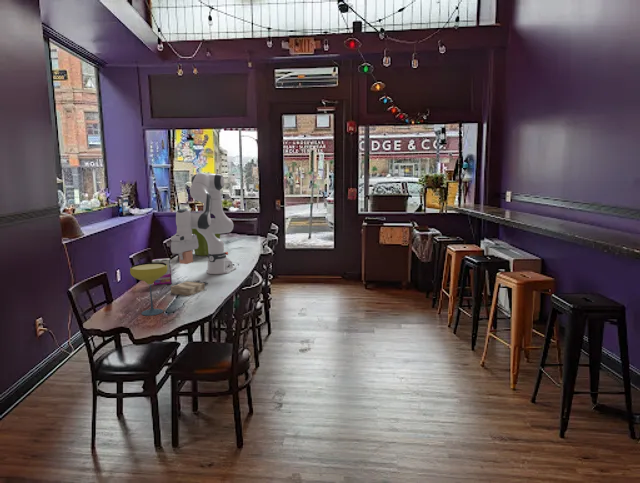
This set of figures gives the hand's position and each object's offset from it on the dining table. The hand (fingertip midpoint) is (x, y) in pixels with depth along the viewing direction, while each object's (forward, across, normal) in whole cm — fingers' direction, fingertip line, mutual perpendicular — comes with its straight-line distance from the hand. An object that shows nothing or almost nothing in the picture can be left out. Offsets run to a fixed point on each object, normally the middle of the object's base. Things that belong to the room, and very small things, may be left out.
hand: (186, 258), depth 272 cm
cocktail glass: (+21, +39, +10) cm, 45 cm away
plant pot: (+21, -100, -67) cm, 122 cm away
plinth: (+20, 0, 0) cm, 20 cm away
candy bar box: (+21, -8, -28) cm, 36 cm away
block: (+3, 0, 0) cm, 3 cm away
